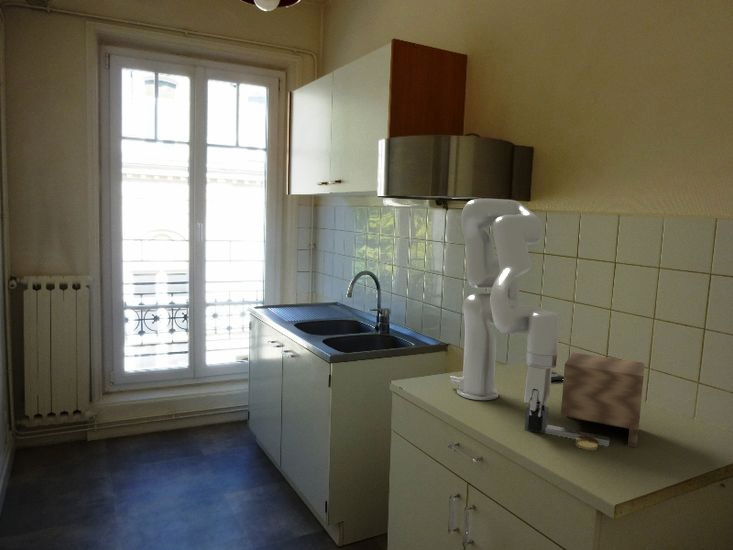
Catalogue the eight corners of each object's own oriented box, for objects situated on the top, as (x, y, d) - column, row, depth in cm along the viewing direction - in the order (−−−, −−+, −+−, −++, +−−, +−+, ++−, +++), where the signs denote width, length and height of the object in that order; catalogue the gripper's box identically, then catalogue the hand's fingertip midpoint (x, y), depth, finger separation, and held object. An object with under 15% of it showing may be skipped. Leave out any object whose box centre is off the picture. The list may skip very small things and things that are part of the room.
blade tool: (524, 429, 141) (526, 407, 140) (527, 425, 144) (529, 403, 143) (608, 447, 131) (610, 423, 131) (609, 442, 134) (611, 419, 134)
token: (574, 448, 131) (575, 441, 130) (576, 441, 135) (576, 434, 135) (597, 453, 129) (597, 446, 128) (597, 445, 133) (598, 438, 133)
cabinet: (559, 431, 140) (564, 364, 138) (567, 414, 152) (572, 352, 150) (636, 447, 132) (643, 376, 130) (638, 428, 144) (644, 362, 142)
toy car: (565, 381, 184) (567, 359, 183) (535, 384, 180) (537, 361, 179) (557, 378, 188) (559, 356, 187) (528, 380, 184) (530, 358, 183)
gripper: (532, 350, 148) (528, 414, 150) (519, 364, 133) (514, 435, 136) (561, 354, 144) (556, 420, 146) (550, 369, 130) (545, 442, 132)
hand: (536, 426), depth 141 cm, fingers closed on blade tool, 3 cm apart
